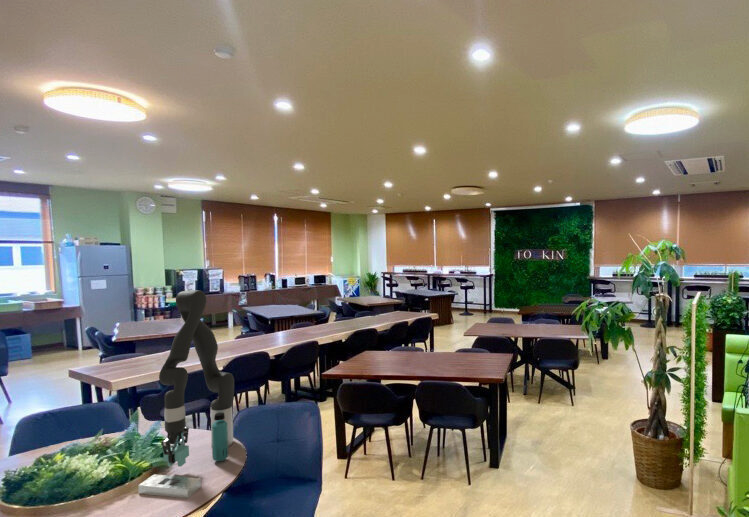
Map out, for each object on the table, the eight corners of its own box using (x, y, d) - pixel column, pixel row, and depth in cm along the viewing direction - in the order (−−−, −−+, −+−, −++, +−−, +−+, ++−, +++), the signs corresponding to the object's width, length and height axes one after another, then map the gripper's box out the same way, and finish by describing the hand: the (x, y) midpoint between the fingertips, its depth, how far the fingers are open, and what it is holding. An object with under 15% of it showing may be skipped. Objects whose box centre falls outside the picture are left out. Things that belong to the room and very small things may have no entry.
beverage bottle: (223, 465, 175) (222, 416, 175) (208, 463, 176) (208, 415, 176) (231, 458, 181) (230, 411, 181) (217, 456, 182) (216, 410, 183)
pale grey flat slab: (153, 482, 162) (153, 474, 162) (200, 486, 158) (200, 478, 158) (138, 493, 154) (138, 485, 154) (187, 498, 150) (187, 489, 150)
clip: (163, 466, 167) (163, 450, 167) (172, 460, 172) (171, 444, 172) (181, 468, 165) (180, 451, 165) (189, 461, 170) (188, 445, 170)
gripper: (177, 410, 176) (179, 450, 176) (154, 424, 162) (155, 468, 162) (194, 410, 175) (195, 451, 175) (171, 424, 160) (173, 469, 161)
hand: (176, 459), depth 168 cm, fingers closed on clip, 5 cm apart
